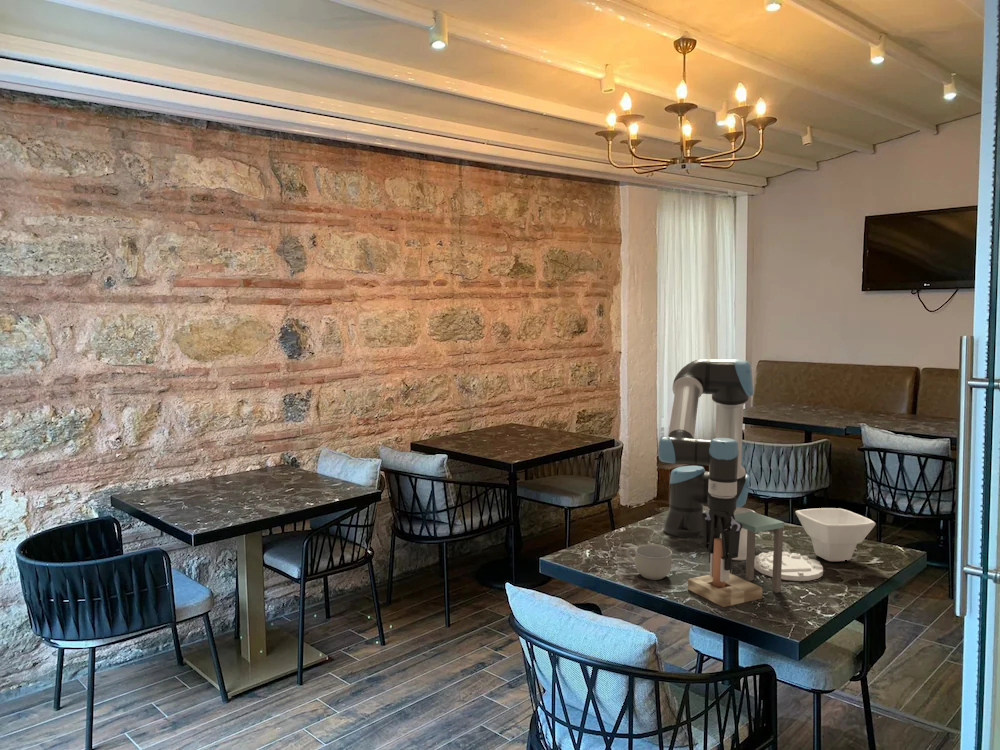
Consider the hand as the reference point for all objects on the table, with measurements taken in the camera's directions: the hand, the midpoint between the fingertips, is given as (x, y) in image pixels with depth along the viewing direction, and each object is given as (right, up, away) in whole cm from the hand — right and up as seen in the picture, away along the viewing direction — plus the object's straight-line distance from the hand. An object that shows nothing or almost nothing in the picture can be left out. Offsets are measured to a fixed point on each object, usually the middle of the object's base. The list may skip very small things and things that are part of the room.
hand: (719, 578), depth 204 cm
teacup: (-17, -4, +16) cm, 23 cm away
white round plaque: (+27, -4, +21) cm, 34 cm away
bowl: (+45, -3, +31) cm, 55 cm away
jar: (+15, -2, +33) cm, 36 cm away
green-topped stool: (+11, -4, +6) cm, 13 cm away
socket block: (+2, -5, +1) cm, 5 cm away
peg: (0, -3, 0) cm, 3 cm away
